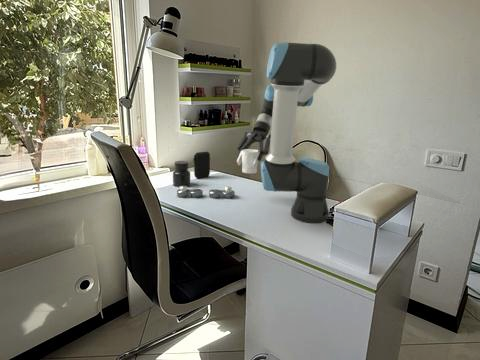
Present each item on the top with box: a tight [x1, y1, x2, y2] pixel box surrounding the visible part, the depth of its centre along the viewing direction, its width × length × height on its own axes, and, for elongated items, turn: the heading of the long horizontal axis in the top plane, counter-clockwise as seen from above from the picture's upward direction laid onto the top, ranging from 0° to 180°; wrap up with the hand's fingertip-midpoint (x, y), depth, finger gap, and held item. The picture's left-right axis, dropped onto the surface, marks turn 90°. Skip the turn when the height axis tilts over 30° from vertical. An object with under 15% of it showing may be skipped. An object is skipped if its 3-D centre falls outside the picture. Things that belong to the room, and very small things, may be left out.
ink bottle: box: [172, 160, 191, 188], centre depth 166 cm, size 10×9×12 cm
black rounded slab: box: [192, 151, 211, 179], centre depth 179 cm, size 11×3×15 cm, turn 127°
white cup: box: [241, 148, 260, 174], centre depth 147 cm, size 8×8×10 cm
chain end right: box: [208, 186, 236, 200], centre depth 150 cm, size 6×12×4 cm, turn 91°
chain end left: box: [176, 186, 204, 199], centre depth 150 cm, size 6×12×4 cm, turn 91°
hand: (246, 164), depth 144 cm, fingers closed on white cup, 8 cm apart
